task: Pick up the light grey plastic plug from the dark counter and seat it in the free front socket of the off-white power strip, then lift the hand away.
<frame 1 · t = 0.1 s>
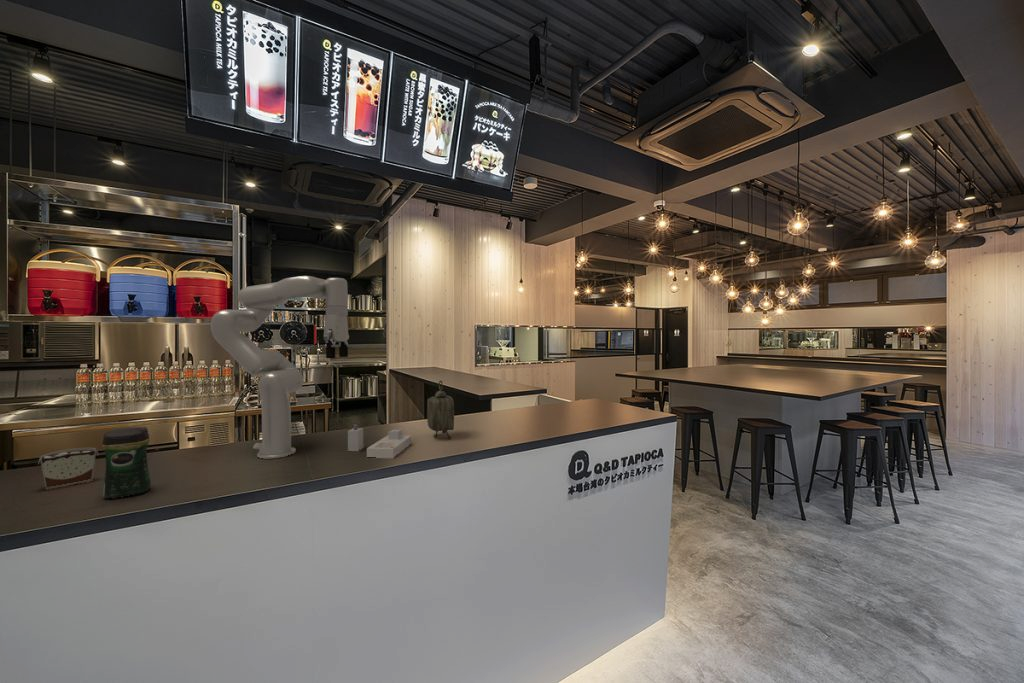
hand: (337, 357, 152), 37 cm above the countertop, tool pointing down, fingers open, 9 cm apart
power strip: (390, 450, 159), on the countertop
coffee jar: (127, 494, 116), on the countertop
plug: (355, 450, 160), on the countertop
food container: (68, 484, 124), on the countertop
dark lantern: (440, 437, 180), on the countertop
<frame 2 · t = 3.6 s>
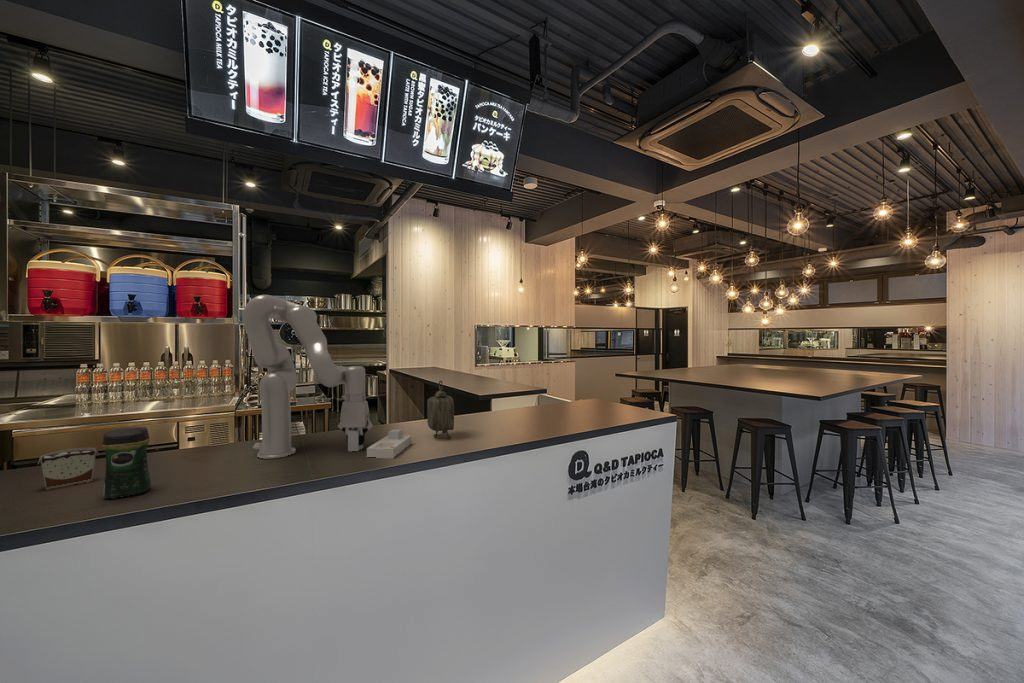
hand: (355, 444, 160), 2 cm above the countertop, tool pointing down, fingers closed on plug, 4 cm apart
plug: (355, 449, 160), on the countertop, touching gripper
everything else where it was.
when the fingers open (4 cm above the countertop, at t = 8.5 s): plug drops 1 cm, resting on power strip.
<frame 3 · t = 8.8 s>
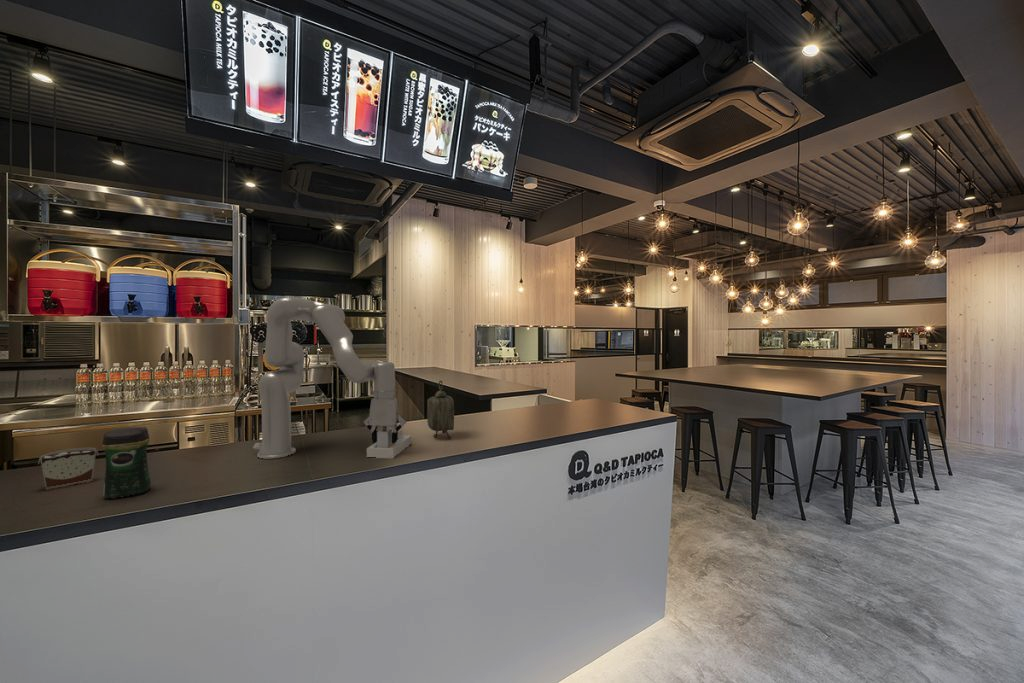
hand: (384, 442, 153), 5 cm above the countertop, tool pointing down, fingers open, 6 cm apart
plug: (384, 451, 154), point 1 cm above the countertop, touching power strip
everything else where it was.
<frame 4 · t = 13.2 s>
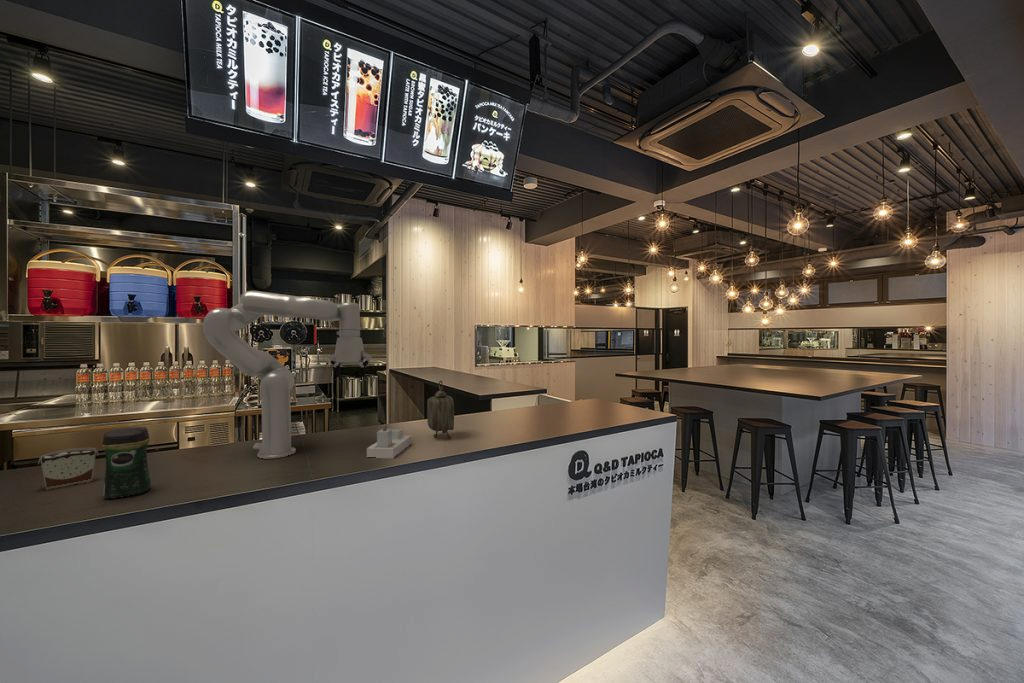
hand: (350, 377, 162), 28 cm above the countertop, tool pointing down, fingers open, 9 cm apart
nothing on the countertop moved.
at the end: plug 0.1 cm from the target spot on the power strip, point 1.0 cm above the power strip's base; plug tilted 0°; the gripper is holding nothing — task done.
